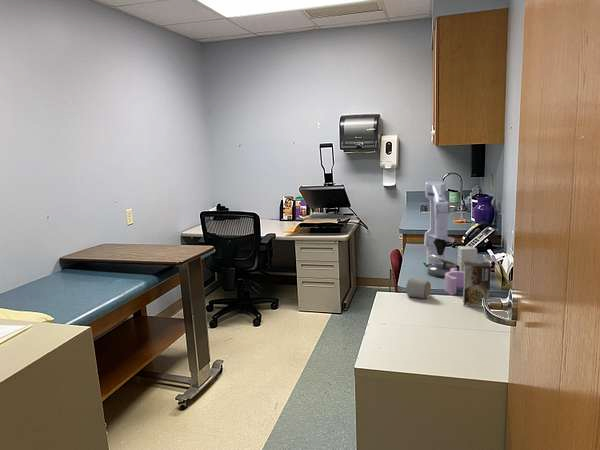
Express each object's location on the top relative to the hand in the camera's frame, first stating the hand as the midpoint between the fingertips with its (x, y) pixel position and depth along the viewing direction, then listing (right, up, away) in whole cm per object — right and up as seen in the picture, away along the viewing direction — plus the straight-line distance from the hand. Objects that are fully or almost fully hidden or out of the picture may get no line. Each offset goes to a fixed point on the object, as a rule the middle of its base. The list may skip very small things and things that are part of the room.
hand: (440, 255), depth 207 cm
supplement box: (+14, -9, +5) cm, 18 cm away
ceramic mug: (-19, -15, -31) cm, 39 cm away
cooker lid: (+2, -3, +1) cm, 4 cm away
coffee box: (0, -16, -42) cm, 45 cm away
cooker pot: (+1, -10, +2) cm, 10 cm away
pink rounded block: (+1, -13, -22) cm, 26 cm away
